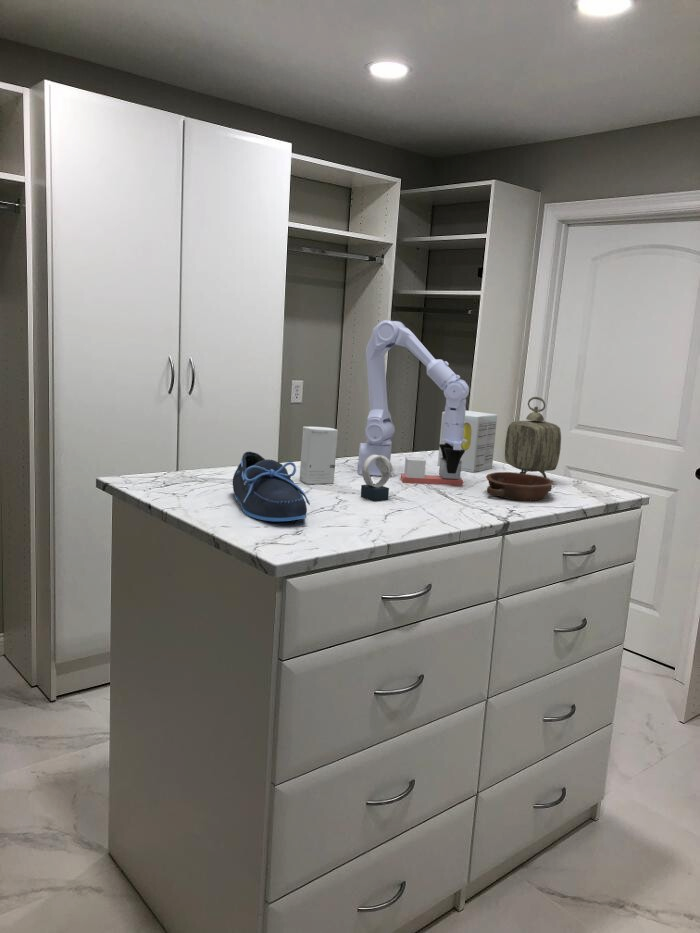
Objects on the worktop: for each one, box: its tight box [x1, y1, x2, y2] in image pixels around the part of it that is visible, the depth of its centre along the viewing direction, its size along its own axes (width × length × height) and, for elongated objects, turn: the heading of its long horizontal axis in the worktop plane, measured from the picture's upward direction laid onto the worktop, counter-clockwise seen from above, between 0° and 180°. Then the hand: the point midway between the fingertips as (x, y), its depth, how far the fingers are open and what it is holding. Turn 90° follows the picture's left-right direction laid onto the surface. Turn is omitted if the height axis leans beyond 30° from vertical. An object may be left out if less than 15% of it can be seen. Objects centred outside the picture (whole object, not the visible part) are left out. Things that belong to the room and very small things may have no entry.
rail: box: [400, 456, 464, 487], centre depth 214 cm, size 17×5×6 cm, turn 94°
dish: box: [486, 471, 554, 502], centre depth 204 cm, size 18×22×5 cm
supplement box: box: [437, 410, 498, 473], centre depth 241 cm, size 13×13×18 cm
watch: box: [360, 455, 393, 503], centre depth 189 cm, size 6×8×11 cm
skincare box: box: [299, 426, 339, 485], centre depth 204 cm, size 8×6×15 cm
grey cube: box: [438, 457, 462, 479], centre depth 214 cm, size 5×5×5 cm
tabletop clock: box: [504, 396, 562, 480], centre depth 224 cm, size 14×9×25 cm, turn 31°
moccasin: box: [232, 451, 311, 523], centre depth 172 cm, size 14×34×12 cm, turn 29°
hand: (449, 471), depth 215 cm, fingers closed on grey cube, 5 cm apart
